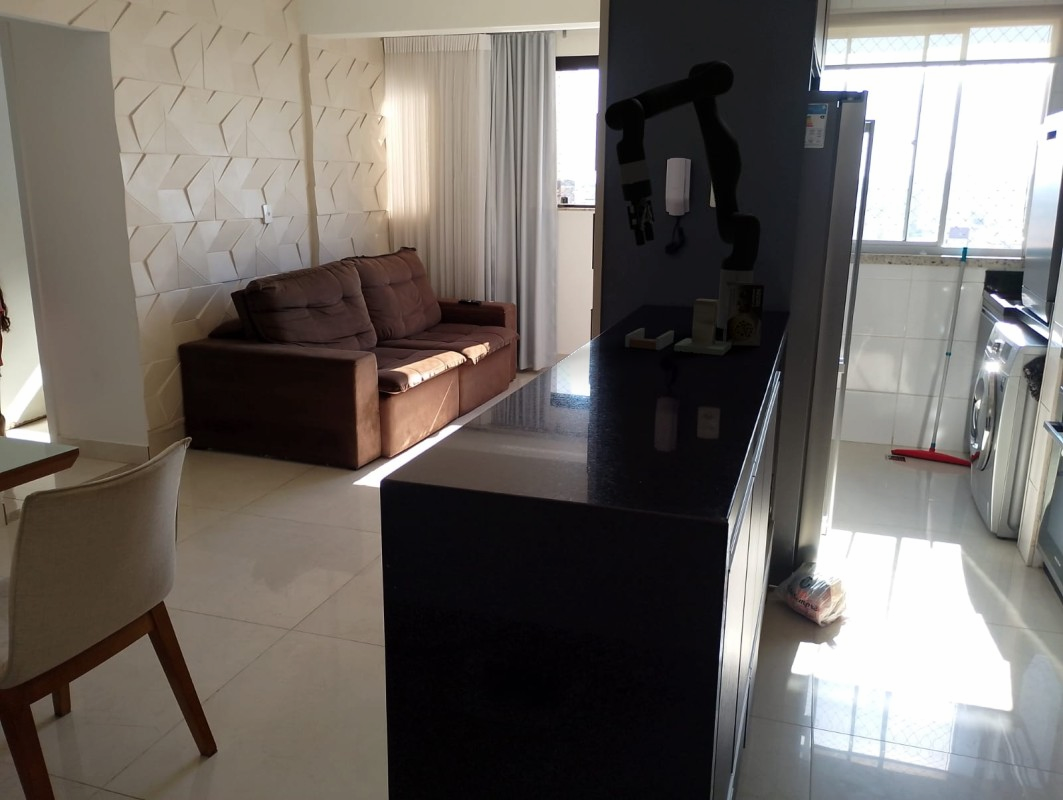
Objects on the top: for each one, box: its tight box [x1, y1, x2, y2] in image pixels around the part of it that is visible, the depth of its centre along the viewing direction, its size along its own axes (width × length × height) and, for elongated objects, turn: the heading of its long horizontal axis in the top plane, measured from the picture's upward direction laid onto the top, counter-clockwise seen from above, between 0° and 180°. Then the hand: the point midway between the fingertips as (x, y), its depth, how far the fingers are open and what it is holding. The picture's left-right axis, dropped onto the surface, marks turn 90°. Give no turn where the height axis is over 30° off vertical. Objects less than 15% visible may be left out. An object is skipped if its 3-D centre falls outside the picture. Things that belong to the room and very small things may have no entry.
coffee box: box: [722, 281, 765, 347], centre depth 227 cm, size 9×6×16 cm
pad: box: [673, 337, 733, 356], centre depth 219 cm, size 12×12×2 cm
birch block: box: [691, 298, 719, 346], centre depth 218 cm, size 5×5×11 cm
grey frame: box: [624, 327, 675, 351], centre depth 224 cm, size 14×9×3 cm, turn 157°
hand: (645, 242), depth 227 cm, fingers open, 8 cm apart
